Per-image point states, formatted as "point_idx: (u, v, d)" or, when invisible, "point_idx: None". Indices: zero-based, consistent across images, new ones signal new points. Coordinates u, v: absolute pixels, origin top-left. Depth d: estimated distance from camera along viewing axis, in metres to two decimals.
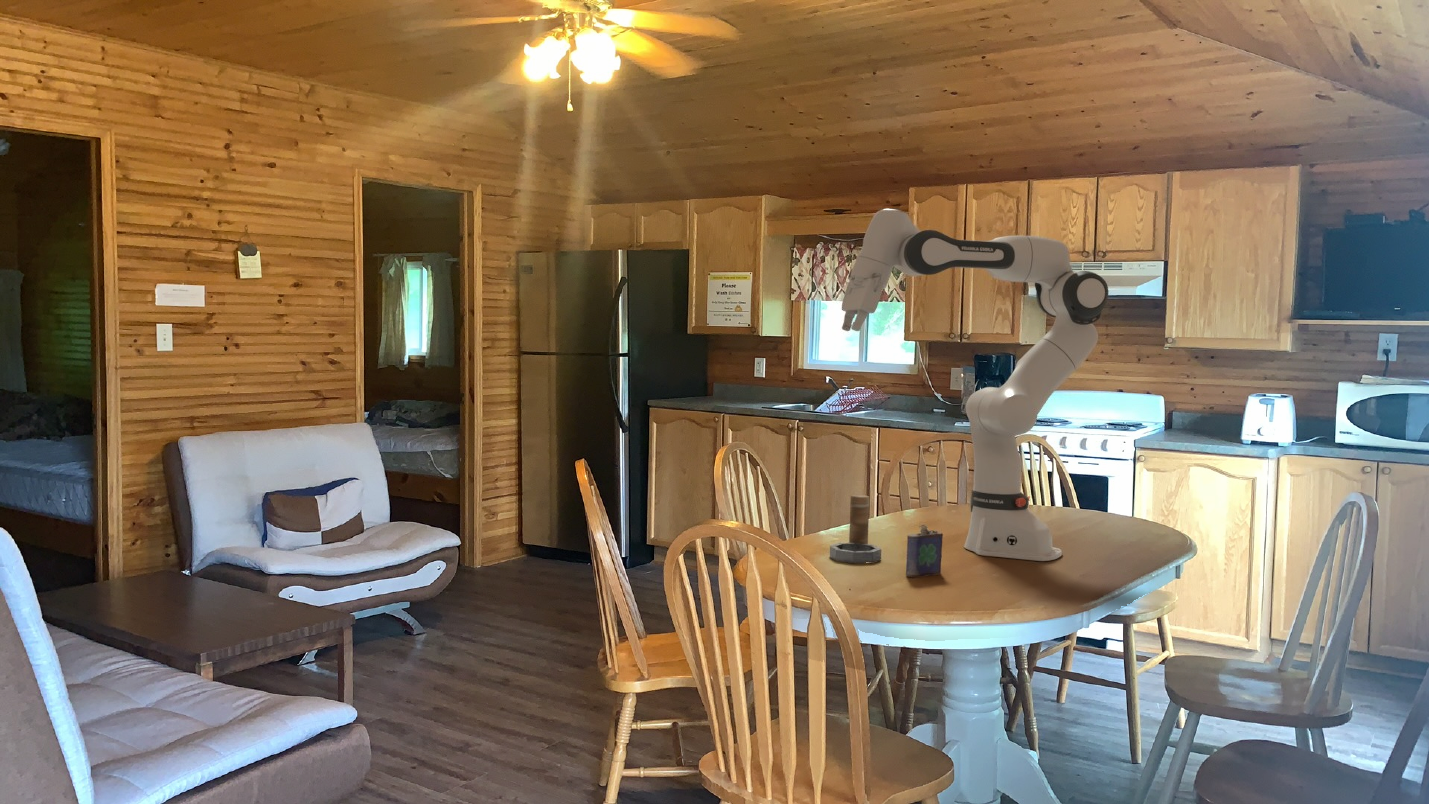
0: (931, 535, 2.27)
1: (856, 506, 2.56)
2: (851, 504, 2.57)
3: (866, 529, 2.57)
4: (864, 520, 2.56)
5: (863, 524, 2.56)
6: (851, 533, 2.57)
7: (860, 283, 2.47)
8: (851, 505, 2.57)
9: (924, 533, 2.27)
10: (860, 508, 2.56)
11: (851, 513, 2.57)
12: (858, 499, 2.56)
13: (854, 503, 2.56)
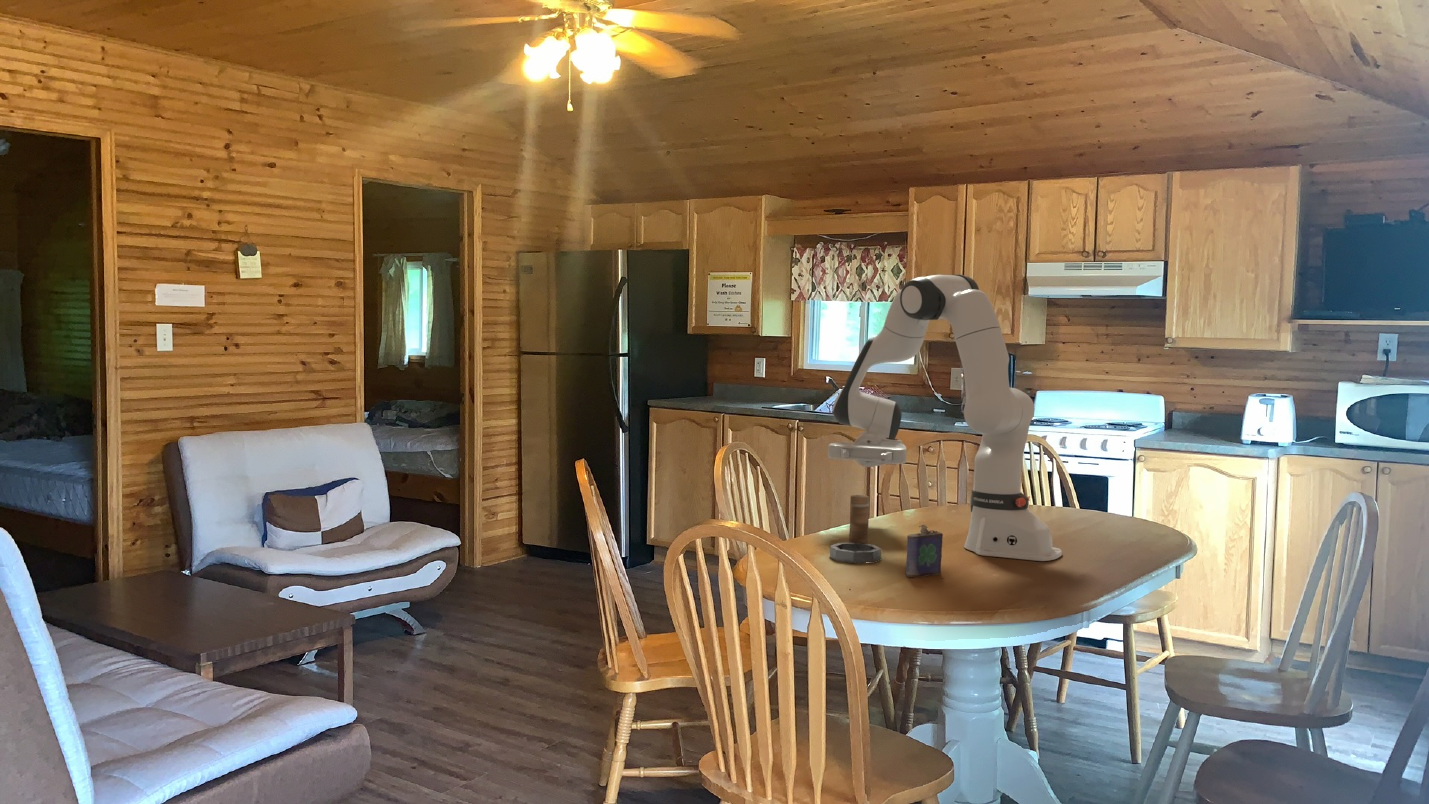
0: (931, 535, 2.27)
1: (856, 506, 2.56)
2: (851, 504, 2.57)
3: (866, 529, 2.57)
4: (864, 520, 2.56)
5: (863, 524, 2.56)
6: (851, 533, 2.57)
7: None
8: (851, 505, 2.57)
9: (924, 533, 2.27)
10: (860, 508, 2.56)
11: (851, 513, 2.57)
12: (858, 499, 2.56)
13: (854, 503, 2.56)
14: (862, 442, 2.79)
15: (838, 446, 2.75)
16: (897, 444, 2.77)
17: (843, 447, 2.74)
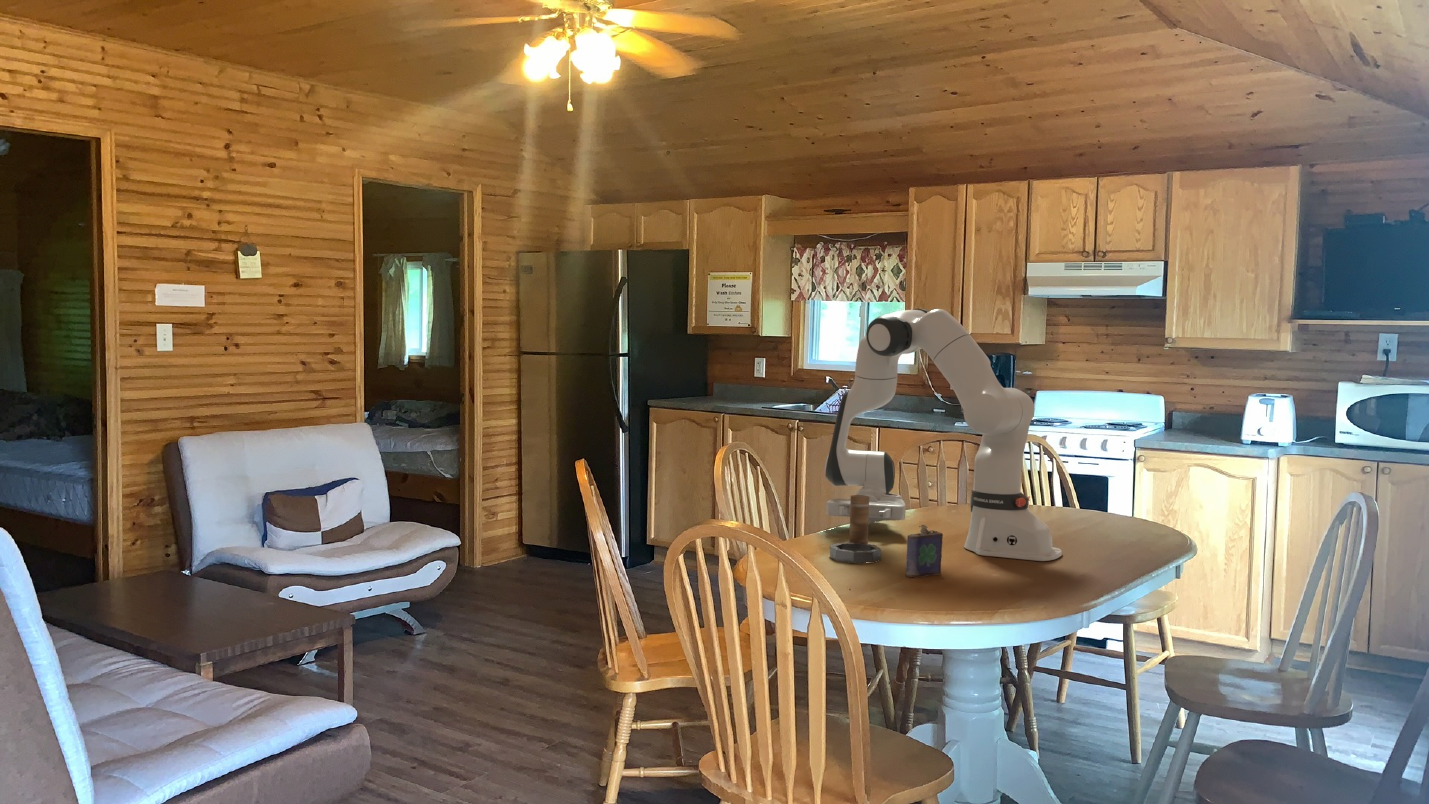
0: (931, 535, 2.27)
1: (856, 506, 2.56)
2: (851, 504, 2.57)
3: (866, 529, 2.57)
4: (864, 520, 2.56)
5: (863, 524, 2.56)
6: (851, 533, 2.57)
7: None
8: (851, 505, 2.57)
9: (924, 533, 2.27)
10: (860, 508, 2.56)
11: (851, 513, 2.57)
12: (858, 499, 2.56)
13: (854, 503, 2.56)
14: None
15: (836, 503, 2.72)
16: (896, 500, 2.75)
17: (841, 504, 2.72)
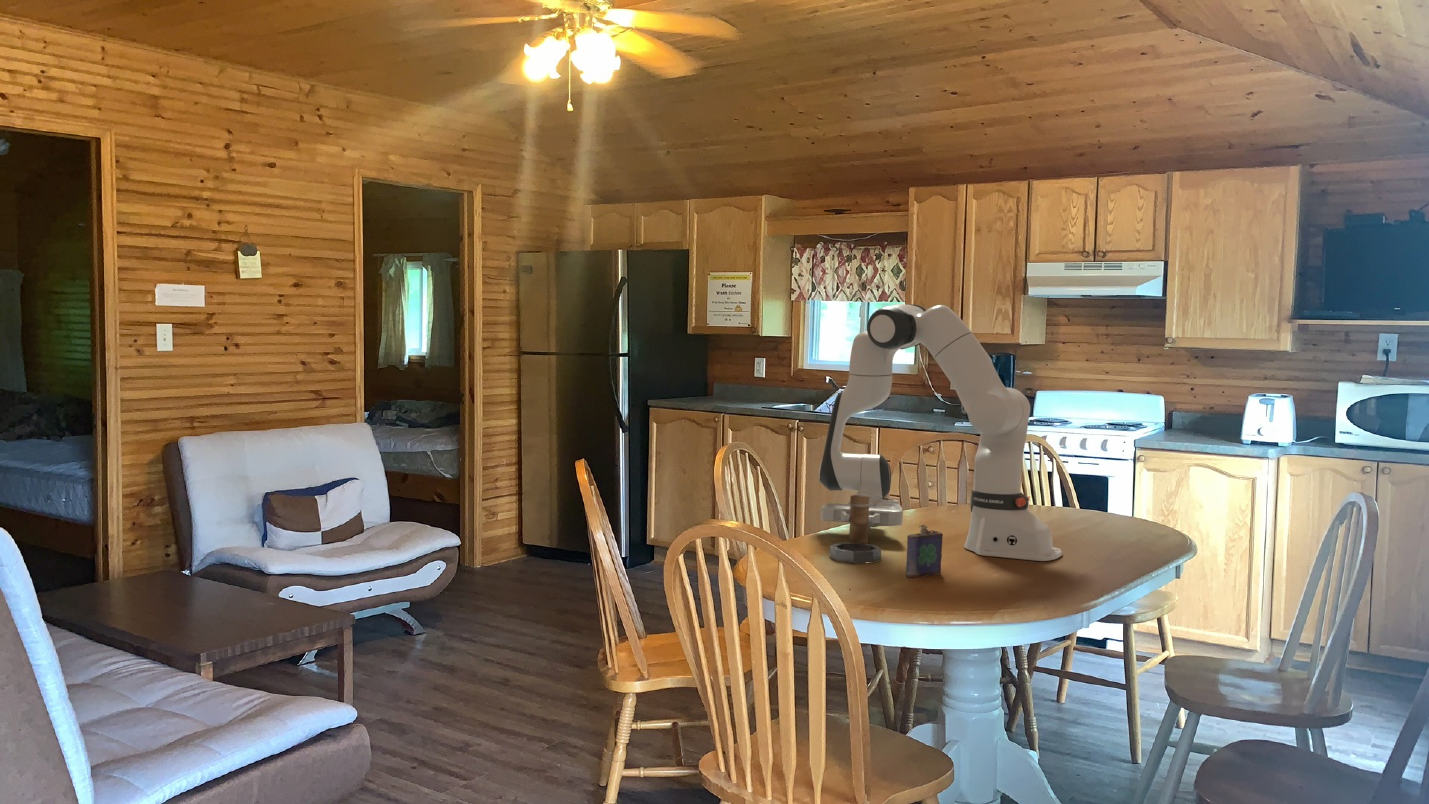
0: (931, 535, 2.27)
1: (856, 506, 2.56)
2: (851, 504, 2.57)
3: (866, 529, 2.57)
4: (864, 520, 2.56)
5: (863, 524, 2.56)
6: (851, 533, 2.57)
7: None
8: (851, 505, 2.57)
9: (924, 533, 2.27)
10: (860, 507, 2.56)
11: (851, 513, 2.57)
12: (858, 499, 2.56)
13: (854, 503, 2.56)
14: None
15: (831, 508, 2.64)
16: (893, 505, 2.66)
17: (836, 509, 2.63)
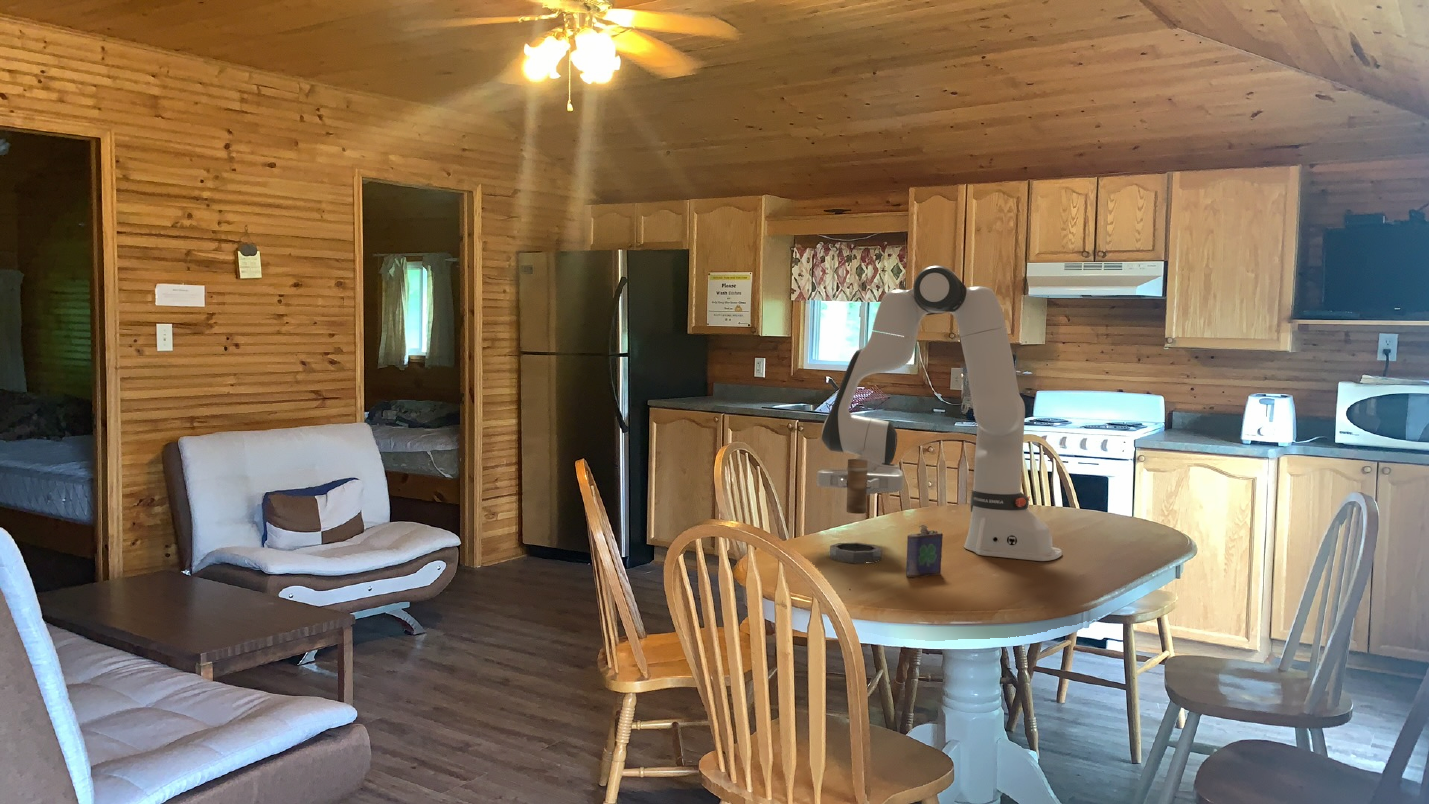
0: (931, 535, 2.27)
1: (853, 470, 2.42)
2: (848, 468, 2.44)
3: (865, 494, 2.43)
4: (862, 485, 2.43)
5: (861, 489, 2.43)
6: (848, 499, 2.44)
7: None
8: (848, 469, 2.44)
9: (924, 533, 2.27)
10: (858, 472, 2.42)
11: (848, 478, 2.44)
12: (856, 463, 2.42)
13: (852, 467, 2.43)
14: None
15: (828, 473, 2.50)
16: (893, 470, 2.52)
17: (833, 474, 2.50)
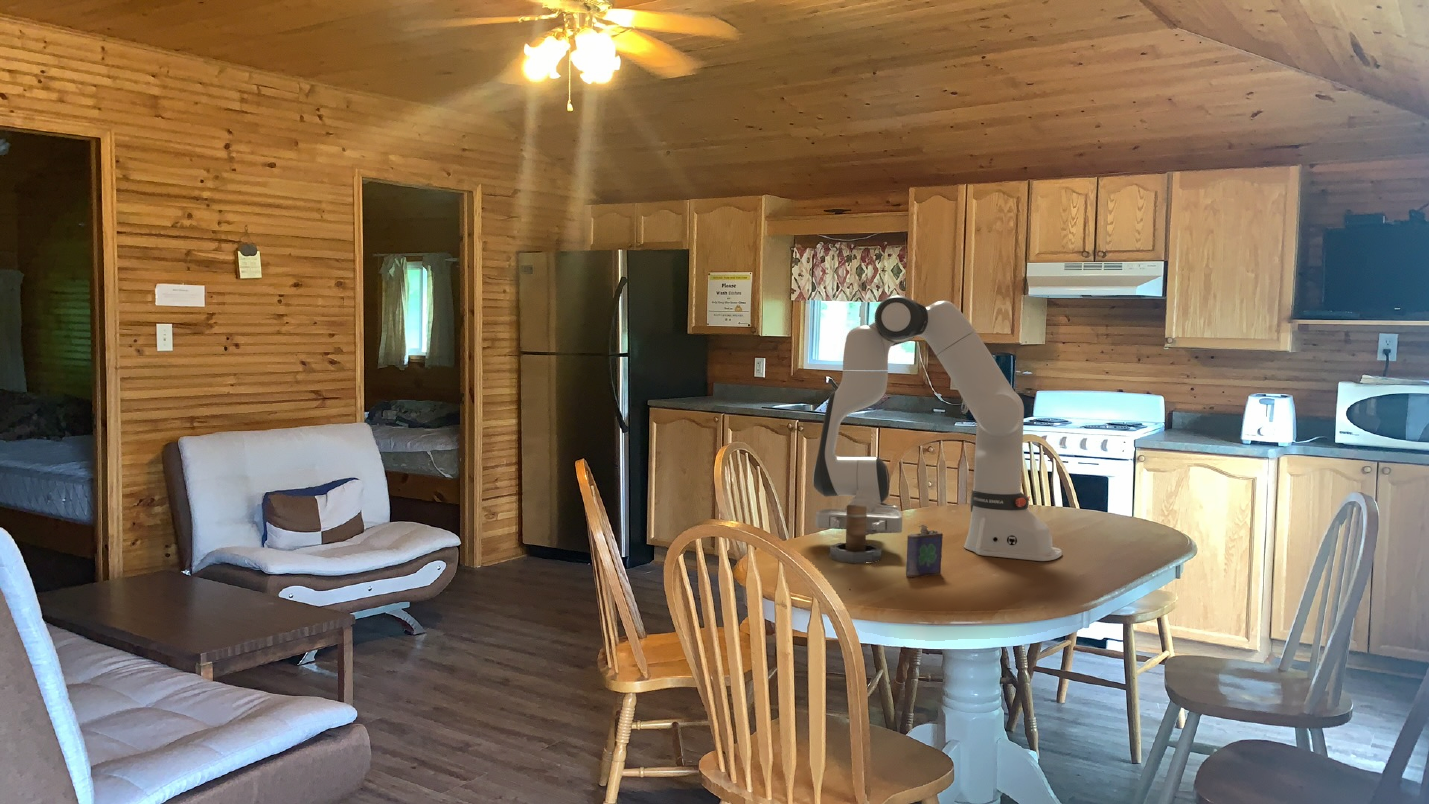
0: (931, 535, 2.27)
1: (853, 516, 2.41)
2: (847, 514, 2.42)
3: (864, 540, 2.42)
4: (861, 532, 2.41)
5: (860, 535, 2.41)
6: (847, 545, 2.42)
7: None
8: (847, 515, 2.42)
9: (924, 533, 2.27)
10: (857, 518, 2.41)
11: (847, 524, 2.42)
12: (855, 509, 2.41)
13: (851, 514, 2.41)
14: None
15: (826, 514, 2.49)
16: (892, 511, 2.51)
17: (832, 515, 2.48)
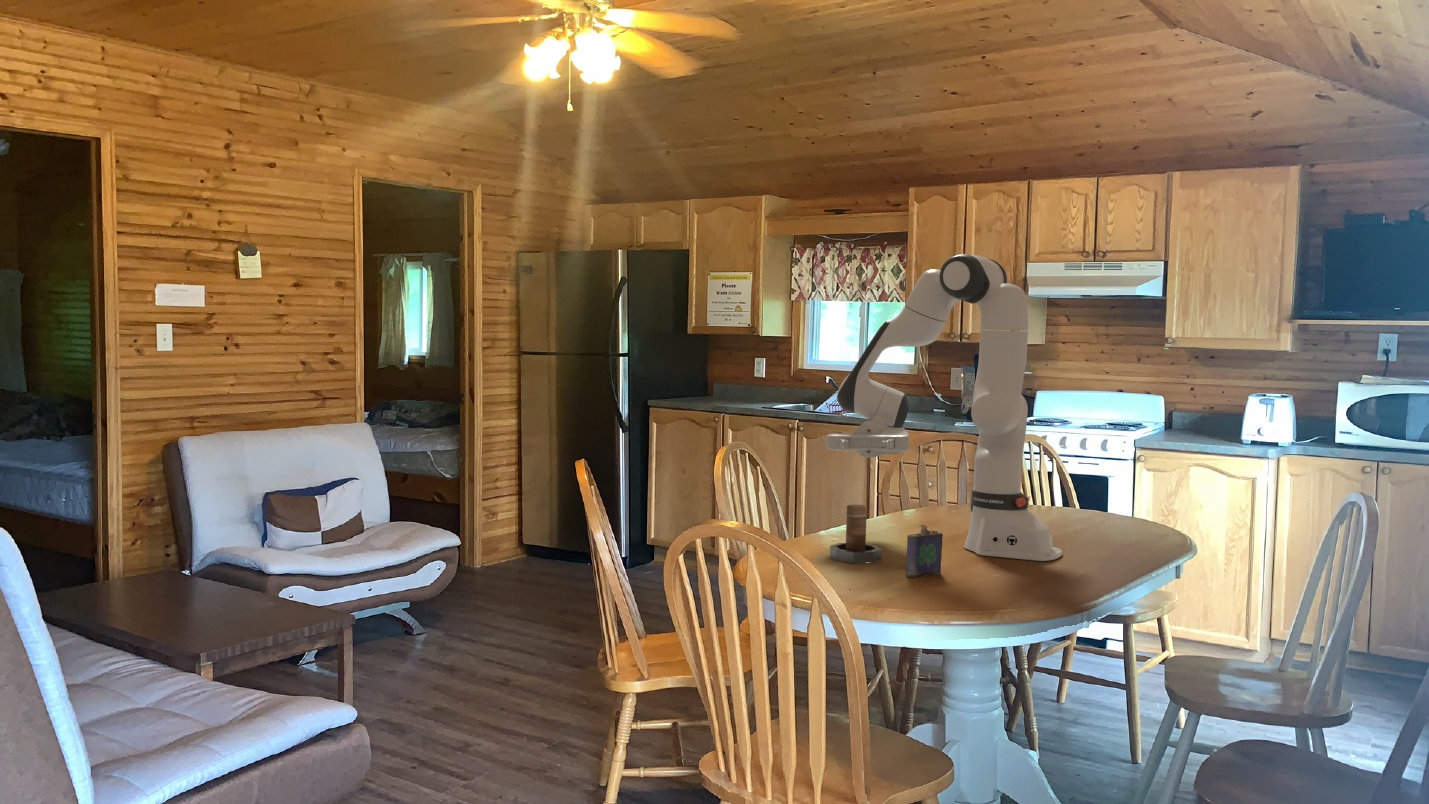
0: (931, 535, 2.27)
1: (853, 516, 2.41)
2: (847, 514, 2.42)
3: (864, 540, 2.42)
4: (861, 532, 2.41)
5: (860, 535, 2.41)
6: (847, 545, 2.42)
7: None
8: (847, 515, 2.42)
9: (924, 533, 2.27)
10: (857, 518, 2.41)
11: (847, 524, 2.42)
12: (855, 509, 2.41)
13: (851, 514, 2.41)
14: (862, 431, 2.64)
15: (836, 436, 2.60)
16: (899, 432, 2.62)
17: (842, 437, 2.60)
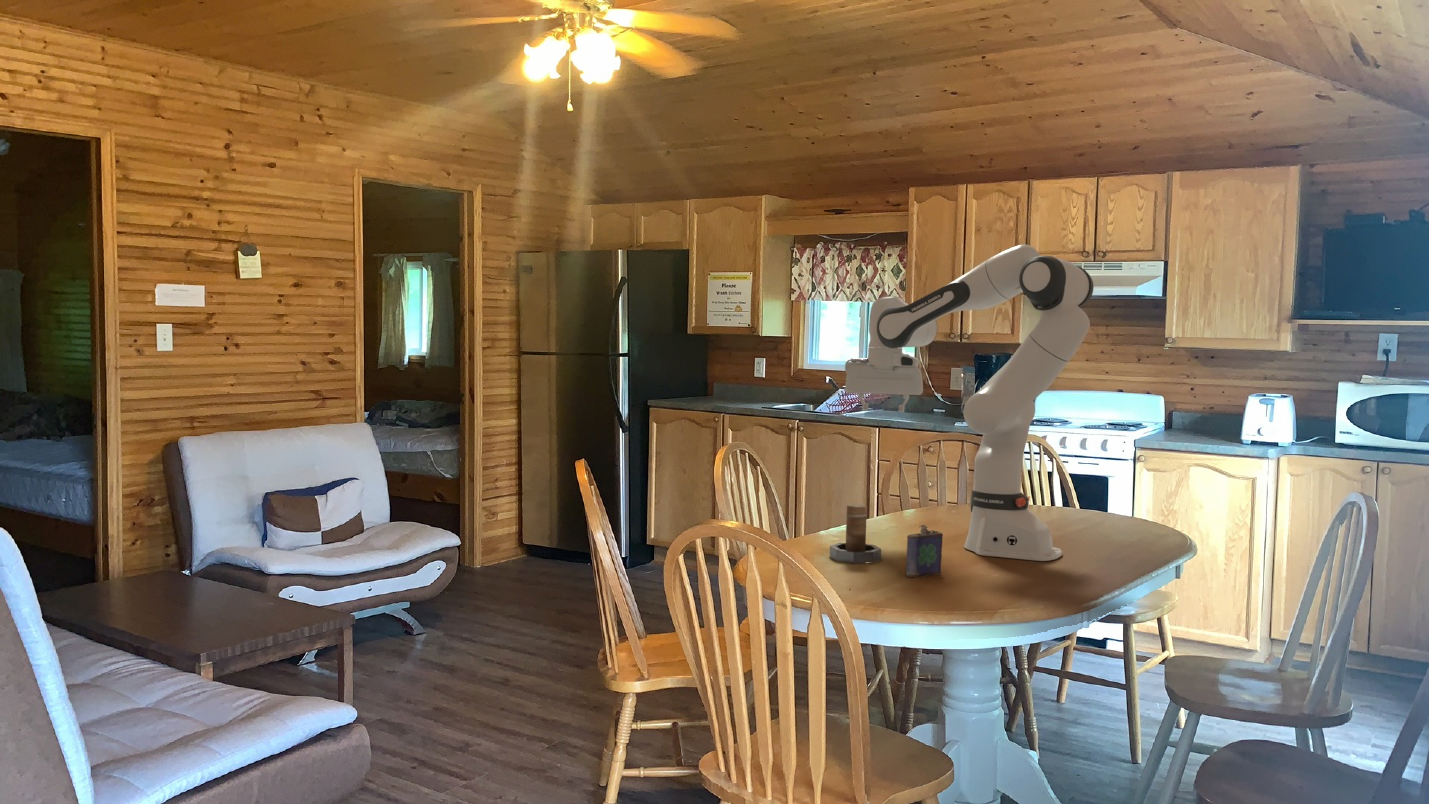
0: (931, 535, 2.27)
1: (853, 516, 2.41)
2: (847, 514, 2.42)
3: (864, 540, 2.42)
4: (861, 532, 2.41)
5: (860, 535, 2.41)
6: (847, 545, 2.42)
7: None
8: (847, 515, 2.42)
9: (924, 533, 2.27)
10: (857, 518, 2.41)
11: (847, 524, 2.42)
12: (855, 509, 2.41)
13: (851, 514, 2.41)
14: (877, 371, 2.78)
15: (855, 392, 2.81)
16: (912, 372, 2.76)
17: (860, 392, 2.81)
